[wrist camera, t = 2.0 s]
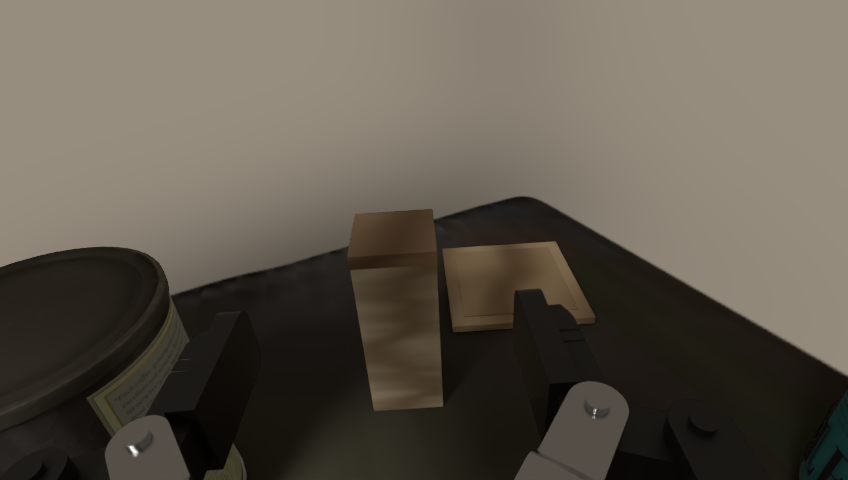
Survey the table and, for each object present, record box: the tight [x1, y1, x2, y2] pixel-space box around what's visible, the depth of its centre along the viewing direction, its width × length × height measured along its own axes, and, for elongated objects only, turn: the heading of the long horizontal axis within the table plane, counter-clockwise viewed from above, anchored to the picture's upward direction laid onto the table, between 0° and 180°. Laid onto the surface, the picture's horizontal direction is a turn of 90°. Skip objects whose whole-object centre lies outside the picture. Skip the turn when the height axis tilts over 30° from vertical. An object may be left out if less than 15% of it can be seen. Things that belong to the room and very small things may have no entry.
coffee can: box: [0, 247, 247, 480], centre depth 21 cm, size 10×10×14 cm
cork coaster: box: [443, 242, 596, 332], centre depth 40 cm, size 11×11×1 cm
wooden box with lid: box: [347, 209, 443, 411], centre depth 28 cm, size 5×5×12 cm
